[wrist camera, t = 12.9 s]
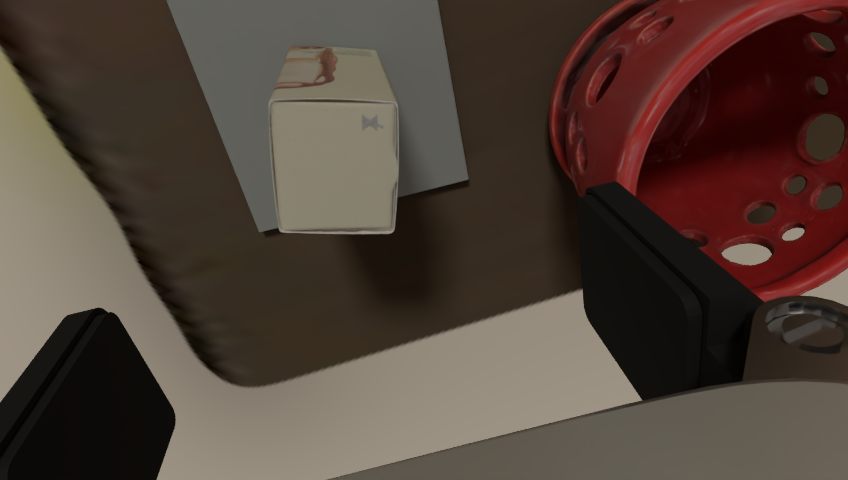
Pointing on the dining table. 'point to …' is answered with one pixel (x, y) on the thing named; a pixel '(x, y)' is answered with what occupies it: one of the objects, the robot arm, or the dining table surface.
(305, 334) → the dining table surface
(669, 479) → the robot arm
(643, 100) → the plant pot
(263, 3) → the mat
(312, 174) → the skincare box
